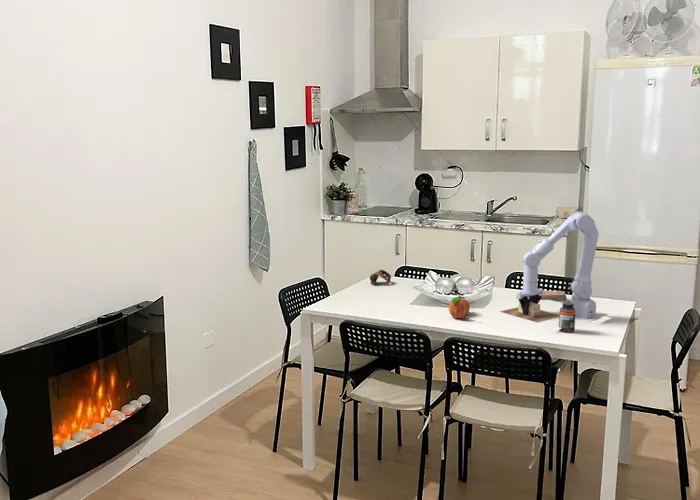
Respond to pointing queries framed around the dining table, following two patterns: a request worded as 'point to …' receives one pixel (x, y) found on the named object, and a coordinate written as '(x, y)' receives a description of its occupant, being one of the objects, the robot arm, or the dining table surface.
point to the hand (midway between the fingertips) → (529, 313)
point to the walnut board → (543, 316)
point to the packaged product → (554, 296)
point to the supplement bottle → (567, 318)
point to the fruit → (459, 307)
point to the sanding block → (531, 309)
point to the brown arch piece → (380, 273)
